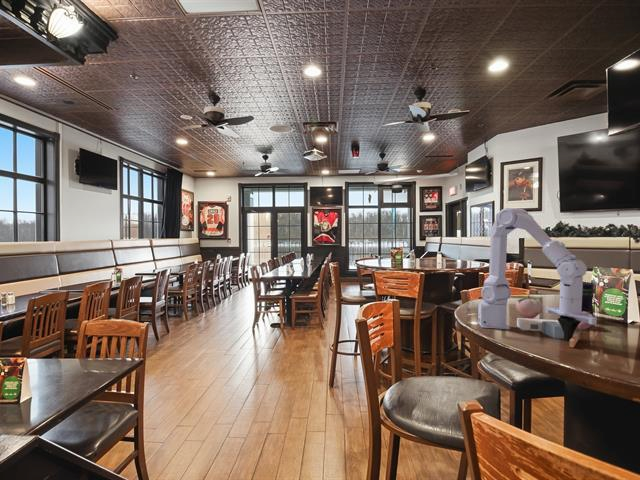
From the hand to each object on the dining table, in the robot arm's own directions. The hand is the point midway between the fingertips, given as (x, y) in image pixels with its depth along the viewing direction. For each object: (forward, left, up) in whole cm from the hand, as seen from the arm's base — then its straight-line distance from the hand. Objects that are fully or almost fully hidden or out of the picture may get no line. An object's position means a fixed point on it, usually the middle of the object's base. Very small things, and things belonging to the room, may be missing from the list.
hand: (568, 340), depth 112 cm
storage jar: (+18, +38, -1) cm, 42 cm away
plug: (-1, +10, -1) cm, 10 cm away
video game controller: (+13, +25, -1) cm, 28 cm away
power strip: (-1, +17, -1) cm, 17 cm away
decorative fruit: (-2, +32, -1) cm, 32 cm away
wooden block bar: (+2, +1, -1) cm, 2 cm away
